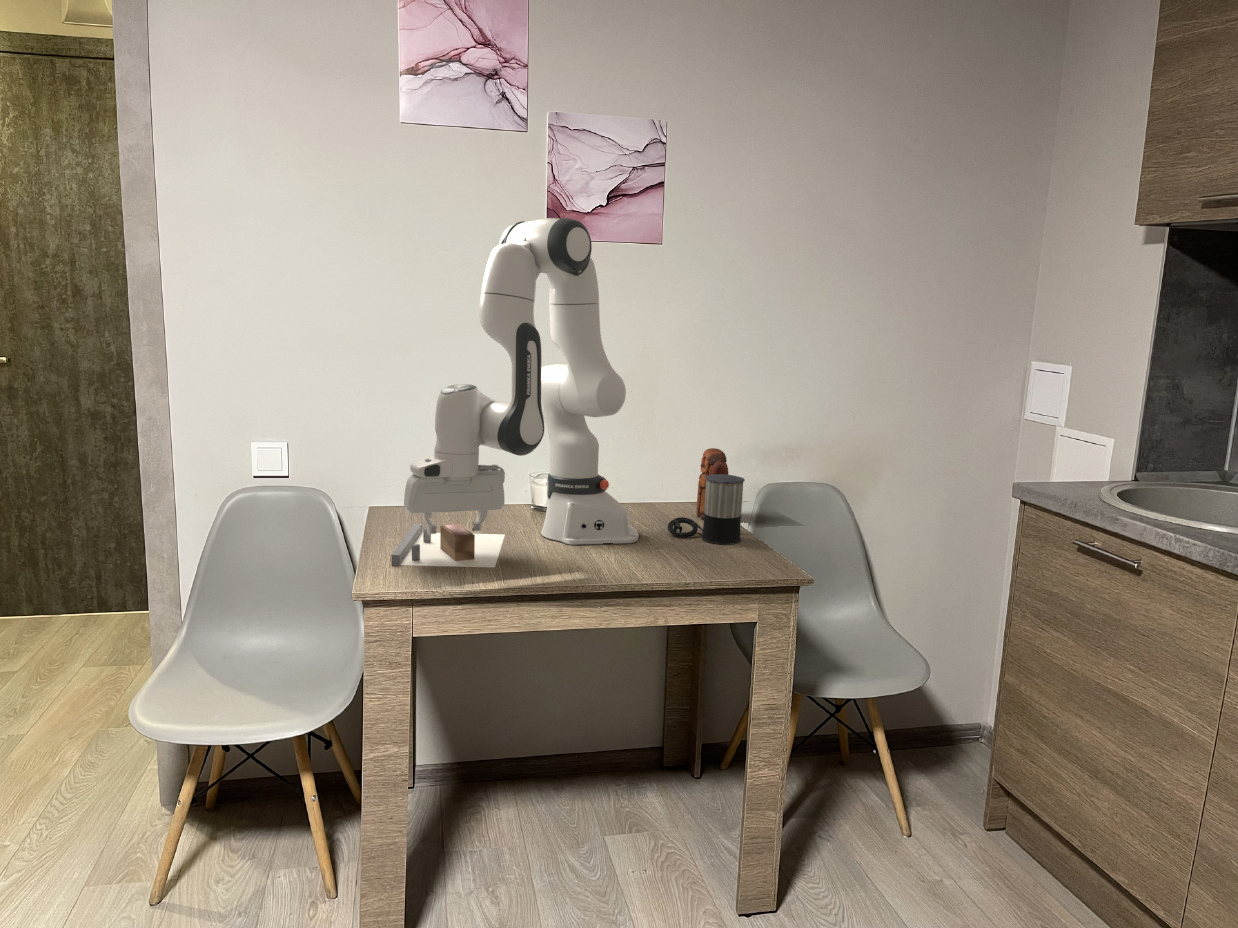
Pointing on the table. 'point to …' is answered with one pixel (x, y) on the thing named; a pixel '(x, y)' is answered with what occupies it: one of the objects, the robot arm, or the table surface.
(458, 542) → the wooden block
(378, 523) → the table surface
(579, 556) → the table surface
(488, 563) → the board
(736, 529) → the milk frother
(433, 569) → the table surface
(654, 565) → the table surface
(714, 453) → the wooden figurine
